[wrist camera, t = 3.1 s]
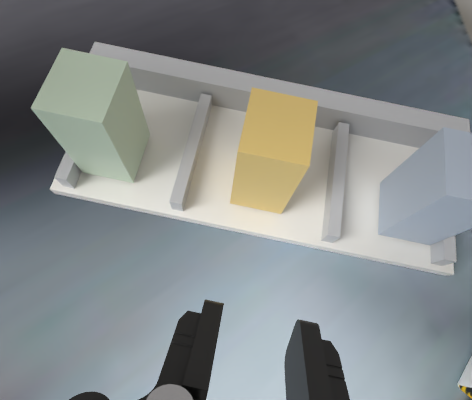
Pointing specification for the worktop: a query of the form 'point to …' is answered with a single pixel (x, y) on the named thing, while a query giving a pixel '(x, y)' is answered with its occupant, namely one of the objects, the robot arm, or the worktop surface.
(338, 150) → the white divided tray
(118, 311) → the worktop surface
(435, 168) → the blue-grey block
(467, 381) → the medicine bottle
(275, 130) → the yellow rectangular block
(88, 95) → the pale green block
